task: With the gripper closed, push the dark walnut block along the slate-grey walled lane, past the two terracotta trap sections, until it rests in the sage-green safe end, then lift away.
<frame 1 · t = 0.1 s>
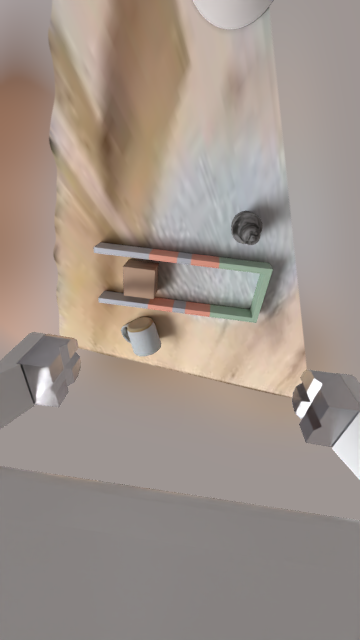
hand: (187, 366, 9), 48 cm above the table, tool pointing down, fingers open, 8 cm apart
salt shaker: (244, 224, 51), on the table
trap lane: (193, 281, 59), on the table
ceramic mug: (142, 329, 68), on the table
walnut block: (143, 275, 59), on the table
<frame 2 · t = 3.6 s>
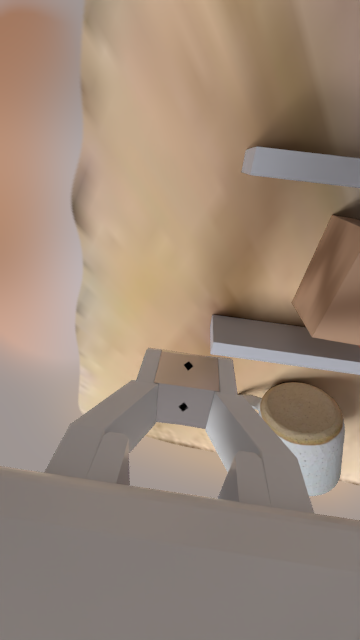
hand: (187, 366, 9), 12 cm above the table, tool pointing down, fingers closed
ceramic mug: (274, 403, 28), on the table
walnut block: (353, 270, 19), on the table
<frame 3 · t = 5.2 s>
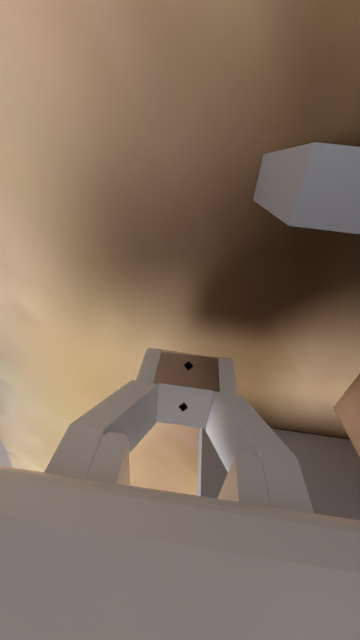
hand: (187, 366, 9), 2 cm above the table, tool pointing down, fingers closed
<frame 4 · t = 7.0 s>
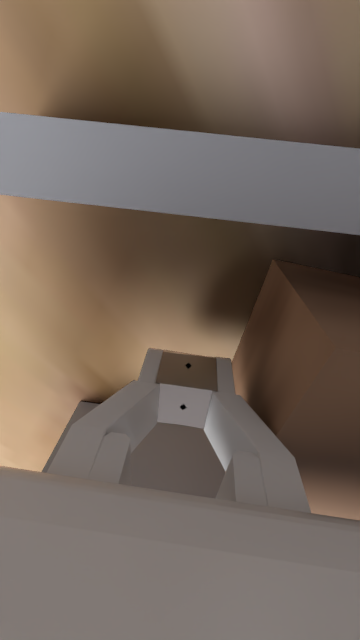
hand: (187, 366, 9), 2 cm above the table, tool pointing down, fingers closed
walnut block: (321, 353, 11), on the table, touching gripper
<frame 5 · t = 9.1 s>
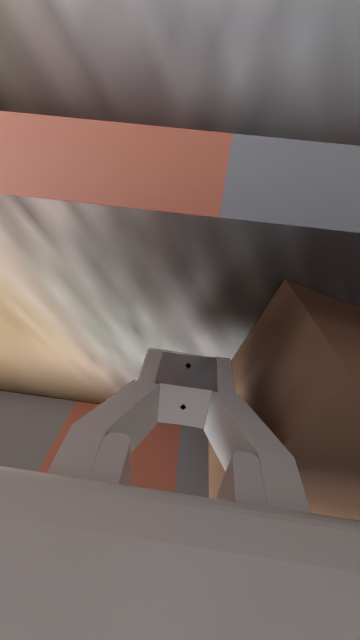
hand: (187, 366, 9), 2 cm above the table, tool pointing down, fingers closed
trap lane: (285, 347, 11), on the table
walnut block: (309, 372, 11), on the table, touching gripper
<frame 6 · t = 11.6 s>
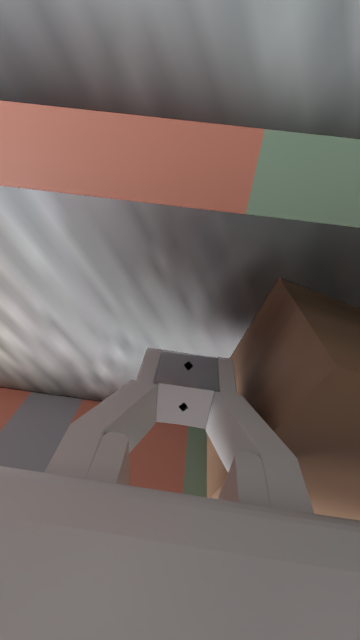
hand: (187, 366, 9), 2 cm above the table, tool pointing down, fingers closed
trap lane: (90, 319, 11), on the table
walnut block: (305, 366, 11), on the table
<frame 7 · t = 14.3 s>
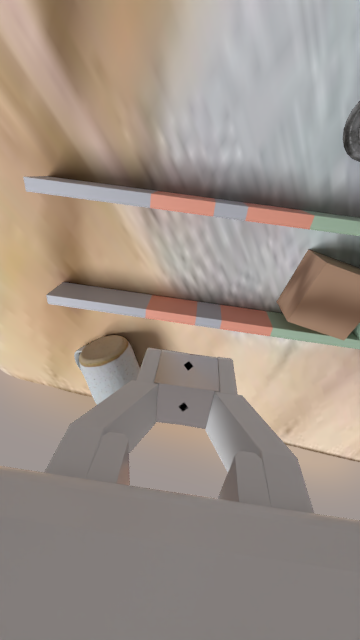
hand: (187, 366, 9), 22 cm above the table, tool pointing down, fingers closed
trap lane: (237, 265, 29), on the table
ceramic mug: (113, 355, 39), on the table
walnut block: (317, 285, 30), on the table
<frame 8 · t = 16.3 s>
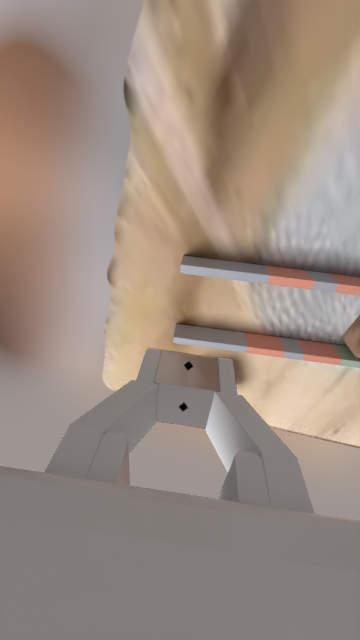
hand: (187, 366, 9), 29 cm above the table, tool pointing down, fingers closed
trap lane: (314, 312, 39), on the table
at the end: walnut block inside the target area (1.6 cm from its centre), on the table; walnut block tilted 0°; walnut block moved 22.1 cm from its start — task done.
